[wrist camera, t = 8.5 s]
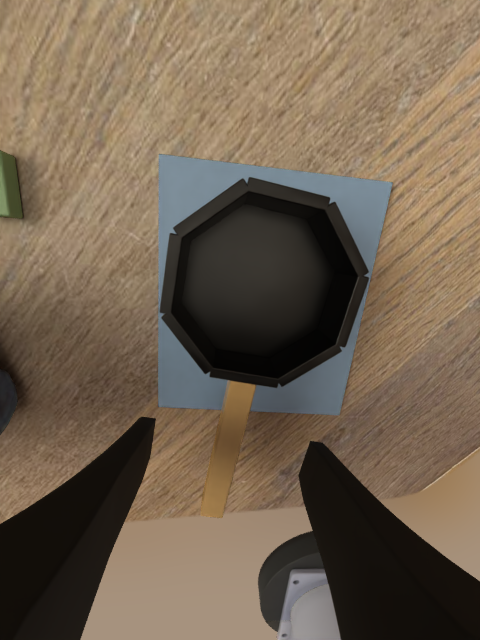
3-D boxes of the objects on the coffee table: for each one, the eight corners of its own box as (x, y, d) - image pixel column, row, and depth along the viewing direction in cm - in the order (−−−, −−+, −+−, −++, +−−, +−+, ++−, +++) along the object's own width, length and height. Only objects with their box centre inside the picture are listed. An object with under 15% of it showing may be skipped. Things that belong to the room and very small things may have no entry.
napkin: (337, 412, 15) (339, 415, 15) (159, 404, 14) (158, 407, 14) (389, 183, 12) (393, 182, 12) (160, 156, 11) (158, 153, 11)
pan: (191, 182, 11) (178, 157, 8) (352, 222, 12) (393, 212, 9) (150, 461, 15) (133, 510, 12) (274, 476, 16) (284, 525, 13)
